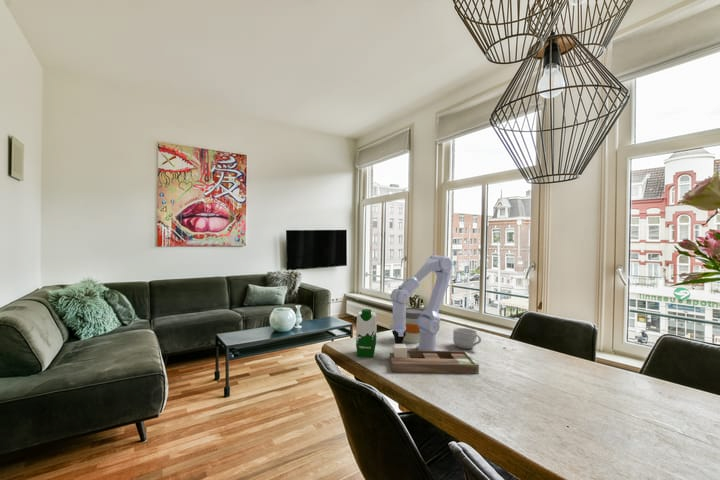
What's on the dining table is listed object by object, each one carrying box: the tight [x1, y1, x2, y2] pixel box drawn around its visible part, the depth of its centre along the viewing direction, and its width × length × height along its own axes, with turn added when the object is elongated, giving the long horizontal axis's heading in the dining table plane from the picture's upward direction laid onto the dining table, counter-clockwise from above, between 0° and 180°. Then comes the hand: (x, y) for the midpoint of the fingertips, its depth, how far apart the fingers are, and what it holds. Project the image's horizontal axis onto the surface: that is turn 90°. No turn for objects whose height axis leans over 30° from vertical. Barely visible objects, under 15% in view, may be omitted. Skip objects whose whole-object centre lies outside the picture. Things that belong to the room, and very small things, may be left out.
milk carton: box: [355, 308, 378, 358], centre depth 145 cm, size 9×9×20 cm
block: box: [392, 343, 408, 358], centre depth 138 cm, size 5×5×4 cm
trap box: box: [389, 349, 480, 374], centre depth 135 cm, size 15×34×3 cm, turn 91°
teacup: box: [452, 327, 482, 350], centre depth 156 cm, size 14×11×8 cm
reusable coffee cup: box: [403, 307, 425, 344], centre depth 166 cm, size 13×12×15 cm
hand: (398, 347), depth 143 cm, fingers closed
